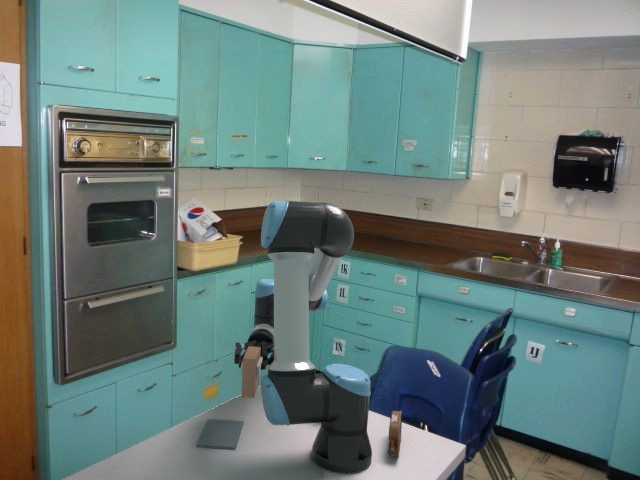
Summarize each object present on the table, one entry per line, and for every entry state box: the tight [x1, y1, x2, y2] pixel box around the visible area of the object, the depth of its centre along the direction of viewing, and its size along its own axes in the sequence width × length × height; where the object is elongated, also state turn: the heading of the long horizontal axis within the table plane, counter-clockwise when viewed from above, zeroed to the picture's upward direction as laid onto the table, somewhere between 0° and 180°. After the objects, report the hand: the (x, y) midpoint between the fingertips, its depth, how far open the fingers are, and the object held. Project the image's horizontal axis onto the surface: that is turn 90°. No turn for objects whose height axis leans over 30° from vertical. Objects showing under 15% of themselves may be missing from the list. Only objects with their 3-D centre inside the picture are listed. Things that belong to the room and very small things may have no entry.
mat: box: [195, 418, 245, 451], centre depth 152 cm, size 10×14×1 cm
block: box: [240, 346, 261, 399], centre depth 146 cm, size 3×9×10 cm, turn 179°
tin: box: [388, 410, 403, 458], centre depth 151 cm, size 15×3×8 cm, turn 168°
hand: (250, 371), depth 143 cm, fingers closed on block, 3 cm apart
